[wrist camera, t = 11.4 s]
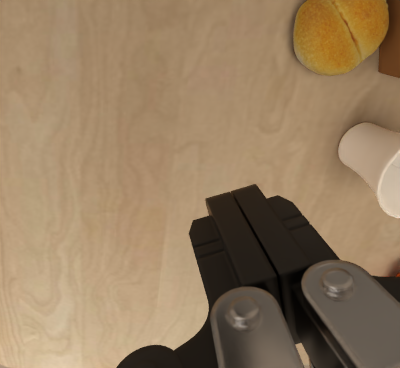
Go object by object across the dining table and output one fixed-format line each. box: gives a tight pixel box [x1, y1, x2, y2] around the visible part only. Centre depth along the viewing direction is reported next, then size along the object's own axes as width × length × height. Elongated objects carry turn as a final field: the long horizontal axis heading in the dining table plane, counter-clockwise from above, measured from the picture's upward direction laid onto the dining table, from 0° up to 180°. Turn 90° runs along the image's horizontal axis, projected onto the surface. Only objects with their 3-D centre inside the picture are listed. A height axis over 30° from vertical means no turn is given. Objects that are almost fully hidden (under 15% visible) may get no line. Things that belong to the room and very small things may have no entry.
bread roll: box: [293, 0, 389, 76], centre depth 33 cm, size 8×9×4 cm
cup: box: [338, 123, 400, 218], centre depth 37 cm, size 9×9×10 cm
